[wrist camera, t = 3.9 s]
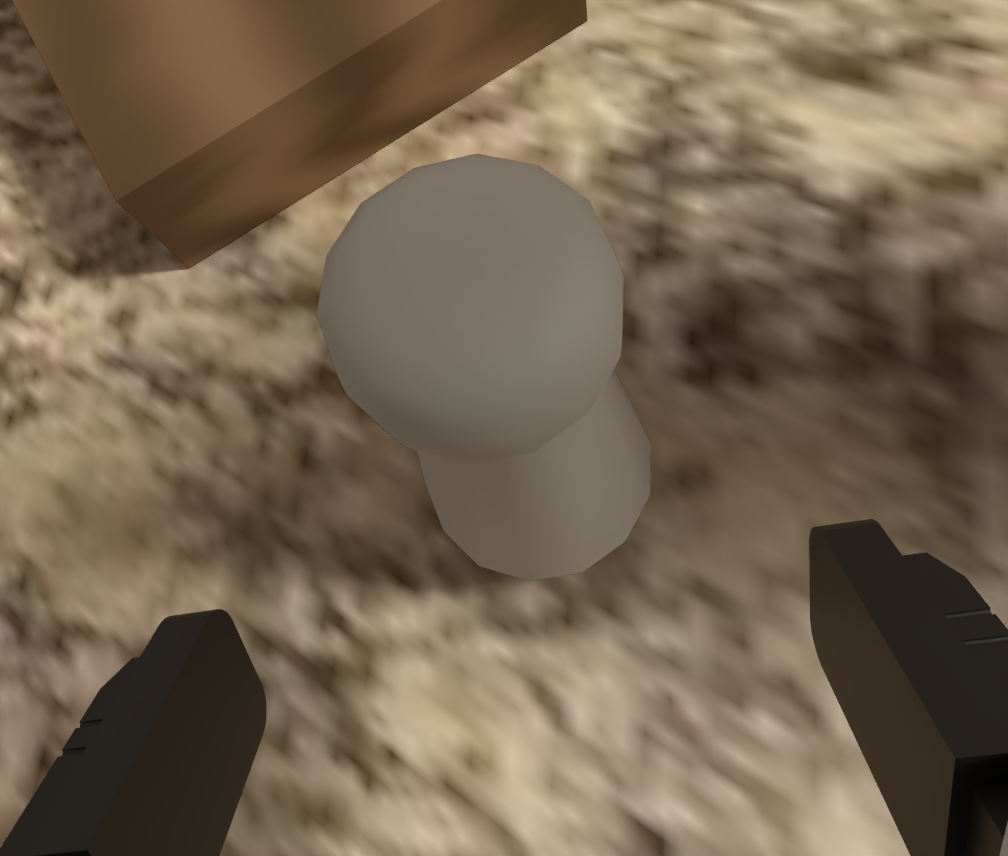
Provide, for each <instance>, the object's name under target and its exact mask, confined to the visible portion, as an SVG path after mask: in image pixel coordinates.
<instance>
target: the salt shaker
mask: <svg viewBox="0 0 1008 856" xmlns="http://www.w3.org/2000/svg"><path fill="white" fill-rule="evenodd" d="M623 289H624V276H623V273H622V271H621V268H620V265H619V263H618V260H617V258H616V255H615V253H614V251H613V249H612V247H611V245H610V243H609V241H608V239H607V237H606V234H605V232H604V230H603V228H602V226H601V224H600V222H599V220H598V218H597V216H596V214H595V212H594V210H593V208H592V206H591V204H590V202H589V200H588V199H586V198H585V197H584V196H582V195H581V194H579V193H578V192H576V191H575V190H573V189H572V188H570V187H569V186H568V185H566V184H565V183H563V182H562V181H560V180H559V179H557V178H556V177H555V176H553V175H552V174H550V173H549V172H547V171H546V170H544V169H543V168H541V167H540V166H539V165H534V164H528V163H523V162H518V161H513V160H507V159H502V158H497V157H492V156H486V155H481V154H473V155H469V156H465V157H460V158H456V159H452V160H447V161H443V162H439V163H434V164H430V165H426V166H421V167H417V168H414V169H412V170H411V171H409V172H408V173H406V174H405V175H403V176H402V177H400V178H399V179H397V180H395V181H394V182H392V183H391V184H389V185H388V186H386V187H385V188H383V189H382V190H380V191H379V192H377V193H376V194H374V195H373V196H371V197H370V198H368V199H367V200H365V201H364V202H362V203H361V204H360V205H359V207H358V208H357V210H356V211H355V213H354V214H353V216H352V217H351V219H350V221H349V222H348V224H347V225H346V227H345V228H344V230H343V231H342V233H341V234H340V236H339V237H338V239H337V240H336V242H335V244H334V245H333V247H332V248H331V250H330V251H329V253H328V254H327V256H326V262H325V268H324V274H323V279H322V285H321V291H320V297H319V303H318V309H317V315H316V316H317V319H318V322H319V325H320V328H321V330H322V333H323V336H324V339H325V342H326V345H327V347H328V350H329V353H330V356H331V359H332V362H333V364H334V367H335V370H336V373H337V375H338V377H339V379H340V382H341V384H342V386H343V388H344V391H345V393H346V394H347V395H348V396H349V397H350V398H351V399H352V400H353V401H354V402H355V403H356V404H357V405H358V406H359V407H361V408H362V409H363V410H364V411H365V412H366V413H367V414H368V415H369V416H370V417H371V418H372V419H373V420H374V421H375V422H376V423H377V424H379V425H380V426H381V427H382V428H383V429H384V430H385V431H386V432H387V433H388V434H389V435H390V436H391V437H392V438H394V439H395V440H397V441H398V442H399V443H401V444H402V445H404V446H405V447H406V448H410V449H414V450H417V453H418V457H419V461H420V465H421V469H422V473H423V476H424V480H425V484H426V487H427V490H428V492H429V495H430V497H431V500H432V502H433V505H434V508H435V510H436V513H437V515H438V518H439V521H440V523H441V526H442V528H443V531H444V532H445V533H446V534H447V535H448V536H449V537H450V538H451V539H452V540H453V541H454V542H455V543H456V544H457V545H458V546H459V547H460V548H461V549H462V550H463V551H464V552H465V553H466V554H467V555H468V556H469V557H470V558H471V559H472V560H473V561H474V562H475V563H476V564H477V565H479V566H480V567H483V568H487V569H490V570H494V571H497V572H501V573H504V574H508V575H511V576H515V577H518V578H522V579H525V580H529V581H532V580H539V579H545V578H551V577H558V576H564V575H570V574H577V573H582V572H584V571H585V570H586V569H588V568H589V567H591V566H592V565H593V564H595V563H596V562H598V561H599V560H600V559H602V558H603V557H604V556H606V555H607V554H609V553H610V552H611V551H613V550H614V549H616V548H617V547H618V546H620V545H621V544H623V543H624V542H625V541H626V539H627V538H628V536H629V534H630V532H631V530H632V528H633V527H634V525H635V523H636V521H637V519H638V517H639V515H640V514H641V512H642V510H643V508H644V506H645V504H646V502H647V501H648V499H649V497H650V484H651V443H650V441H649V439H648V437H647V435H646V432H645V430H644V428H643V426H642V424H641V422H640V420H639V418H638V415H637V413H636V411H635V409H634V407H633V405H632V403H631V400H630V399H629V397H628V395H627V393H626V391H625V390H624V388H623V386H622V384H621V382H620V380H619V379H618V377H617V375H616V373H615V371H614V368H615V366H616V364H617V363H618V361H619V359H620V356H621V347H622V331H623Z"/></svg>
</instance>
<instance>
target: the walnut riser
mask: <svg viewBox="0 0 1008 856" xmlns="http://www.w3.org/2000/svg"><path fill="white" fill-rule="evenodd" d="M12 1H13V3H14V5H15V7H16V9H17V11H18V12H19V14H20V16H21V18H22V20H23V22H24V24H25V26H26V28H27V30H28V32H29V34H30V36H31V38H32V40H33V41H34V43H35V45H36V47H37V49H38V51H39V53H40V55H41V57H42V59H43V61H44V63H45V65H46V67H47V69H48V71H49V72H50V74H51V76H52V78H53V80H54V82H55V84H56V86H57V88H58V90H59V92H60V94H61V96H62V98H63V100H64V101H65V103H66V105H67V107H68V109H69V111H70V113H71V115H72V117H73V119H74V121H75V123H76V125H77V127H78V129H79V131H80V132H81V134H82V136H83V138H84V140H85V142H86V144H87V146H88V148H89V150H90V152H91V154H92V156H93V158H94V160H95V161H96V163H97V165H98V167H99V169H100V171H101V173H102V175H103V177H104V179H105V181H106V183H107V185H108V187H109V189H110V191H111V192H112V194H113V196H114V198H115V200H116V202H118V203H119V204H120V205H121V206H122V207H123V208H124V209H125V210H126V211H127V212H129V213H130V214H131V215H132V216H133V217H134V218H135V219H136V220H137V221H138V222H139V223H141V224H142V225H143V226H144V227H145V228H146V229H147V230H148V231H149V232H150V233H152V234H153V235H154V236H155V237H156V238H157V239H158V240H159V241H160V242H161V243H162V244H164V245H165V246H166V247H167V248H168V249H169V250H170V251H171V252H172V253H173V254H175V255H176V256H177V257H178V258H179V259H180V260H181V261H182V262H183V263H184V264H185V265H187V266H188V267H189V268H190V267H192V266H193V265H195V264H197V263H198V262H200V261H201V260H203V259H205V258H206V257H208V256H209V255H211V254H213V253H214V252H216V251H217V250H219V249H221V248H222V247H224V246H225V245H227V244H229V243H230V242H232V241H234V240H235V239H237V238H238V237H240V236H242V235H243V234H245V233H246V232H248V231H250V230H251V229H253V228H254V227H256V226H258V225H259V224H261V223H262V222H264V221H266V220H267V219H269V218H270V217H272V216H274V215H275V214H277V213H279V212H280V211H282V210H283V209H285V208H287V207H288V206H290V205H291V204H293V203H295V202H296V201H298V200H299V199H301V198H303V197H304V196H306V195H307V194H309V193H311V192H312V191H314V190H316V189H317V188H319V187H320V186H322V185H324V184H325V183H327V182H328V181H330V180H332V179H333V178H335V177H336V176H338V175H340V174H341V173H343V172H344V171H346V170H348V169H349V168H351V167H352V166H354V165H356V164H357V163H359V162H361V161H362V160H364V159H365V158H367V157H369V156H370V155H372V154H373V153H375V152H377V151H378V150H380V149H381V148H383V147H385V146H386V145H388V144H389V143H391V142H393V141H394V140H396V139H398V138H399V137H401V136H402V135H404V134H406V133H407V132H409V131H410V130H412V129H414V128H415V127H417V126H418V125H420V124H422V123H423V122H425V121H426V120H428V119H430V118H431V117H433V116H435V115H436V114H438V113H439V112H441V111H443V110H444V109H446V108H447V107H449V106H451V105H452V104H454V103H455V102H457V101H459V100H460V99H462V98H463V97H465V96H467V95H468V94H470V93H471V92H473V91H475V90H476V89H478V88H480V87H481V86H483V85H484V84H486V83H488V82H489V81H491V80H492V79H494V78H496V77H497V76H499V75H500V74H502V73H504V72H505V71H507V70H508V69H510V68H512V67H513V66H515V65H517V64H518V63H520V62H521V61H523V60H525V59H526V58H528V57H529V56H531V55H533V54H534V53H536V52H537V51H539V50H541V49H542V48H544V47H545V46H547V45H549V44H550V43H552V42H553V41H555V40H557V39H558V38H560V37H562V36H563V35H565V34H566V33H568V32H570V31H571V30H573V29H574V28H576V27H578V26H579V25H581V24H582V23H584V22H586V21H587V8H586V0H12Z"/></svg>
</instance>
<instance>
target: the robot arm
mask: <svg viewBox="0 0 1008 856" xmlns="http://www.w3.org/2000/svg"><path fill="white" fill-rule="evenodd" d="M809 558H810V622H811V630H812V635H813V640H814V644H815V648H816V652H817V655H818V658H819V661H820V663H821V666H822V668H823V670H824V672H825V674H826V676H827V679H828V681H829V683H830V685H831V687H832V689H833V691H834V694H835V696H836V698H837V700H838V702H839V704H840V706H841V708H842V711H843V713H844V715H845V717H846V719H847V721H848V723H849V725H850V728H851V730H852V732H853V734H854V736H855V738H856V740H857V743H858V745H859V747H860V749H861V751H862V753H863V755H864V757H865V760H866V762H867V764H868V766H869V768H870V770H871V772H872V774H873V777H874V779H875V781H876V783H877V785H878V787H879V789H880V792H881V794H882V796H883V798H884V800H885V802H886V804H887V806H888V809H889V811H890V813H891V815H892V817H893V819H894V821H895V823H896V826H897V828H898V830H899V832H900V834H901V836H902V838H903V841H904V843H905V845H906V847H907V849H908V851H909V853H910V855H911V856H1008V629H1007V628H1006V627H1005V626H1004V624H1003V623H1002V622H1001V621H1000V619H999V618H998V617H997V616H996V614H993V615H992V613H991V611H990V607H989V606H988V605H987V603H986V602H985V601H984V600H983V598H982V597H981V596H980V595H979V593H978V592H977V591H976V590H975V588H974V587H973V586H972V585H971V583H970V582H969V581H968V580H967V578H966V577H965V576H963V575H962V574H960V573H959V572H957V571H955V570H954V569H952V568H950V567H949V566H947V565H946V564H944V563H942V562H941V561H939V560H938V559H936V558H934V557H933V556H931V555H930V554H928V553H919V554H912V555H904V556H902V555H901V554H900V552H899V551H898V549H897V548H896V547H895V545H894V544H893V542H892V541H891V540H890V538H889V537H888V535H887V534H886V533H885V531H884V530H883V528H882V527H881V526H880V525H879V523H878V522H877V521H875V520H873V519H868V520H861V521H854V522H847V523H840V524H833V525H826V526H819V527H813V528H812V530H811V532H810V538H809ZM265 723H266V699H265V693H264V690H263V687H262V684H261V682H260V680H259V677H258V675H257V673H256V671H255V669H254V666H253V664H252V662H251V660H250V658H249V655H248V653H247V651H246V649H245V647H244V644H243V642H242V640H241V638H240V636H239V633H238V631H237V629H236V627H235V625H234V622H233V620H232V618H231V617H230V615H229V614H228V613H227V612H226V611H224V610H221V609H217V610H210V611H203V612H196V613H189V614H182V615H175V616H169V617H167V618H165V619H164V620H163V621H162V622H161V623H160V625H159V626H158V628H157V630H156V631H155V633H154V635H153V636H152V638H151V640H150V641H149V643H148V645H147V647H146V648H145V650H144V652H143V653H142V655H141V657H139V658H132V659H131V660H130V661H129V662H128V663H127V664H126V665H125V666H124V667H123V668H122V669H121V670H120V671H119V672H118V673H117V674H115V675H114V676H113V677H112V678H111V679H110V680H109V681H108V682H107V683H106V684H105V685H104V686H103V687H102V688H101V689H100V690H99V692H98V694H97V695H96V697H95V698H94V700H93V702H92V703H91V705H90V706H89V708H88V710H87V711H86V713H85V714H84V716H83V718H82V719H81V721H80V728H76V729H75V730H74V732H73V733H72V735H71V737H70V738H69V740H68V741H67V743H66V745H65V746H64V748H63V749H62V750H63V755H62V756H60V757H57V759H56V761H55V762H54V764H53V765H52V767H51V769H50V770H49V772H48V773H47V775H46V777H45V778H44V780H43V781H42V783H41V785H40V786H39V788H38V789H37V791H36V792H35V794H34V796H33V797H32V799H31V800H30V802H29V804H28V805H27V807H26V808H25V810H24V812H23V813H22V815H21V816H20V818H19V820H18V821H17V823H16V824H15V826H14V828H13V829H12V831H11V832H10V834H9V836H8V837H7V839H6V840H5V842H4V844H3V845H2V847H1V848H0V856H219V855H220V852H221V850H222V847H223V844H224V841H225V839H226V836H227V833H228V830H229V827H230V825H231V822H232V819H233V816H234V813H235V811H236V808H237V805H238V802H239V800H240V797H241V794H242V791H243V788H244V786H245V783H246V780H247V777H248V774H249V772H250V769H251V766H252V763H253V761H254V758H255V755H256V752H257V749H258V747H259V744H260V741H261V738H262V736H263V732H264V728H265Z"/></svg>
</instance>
